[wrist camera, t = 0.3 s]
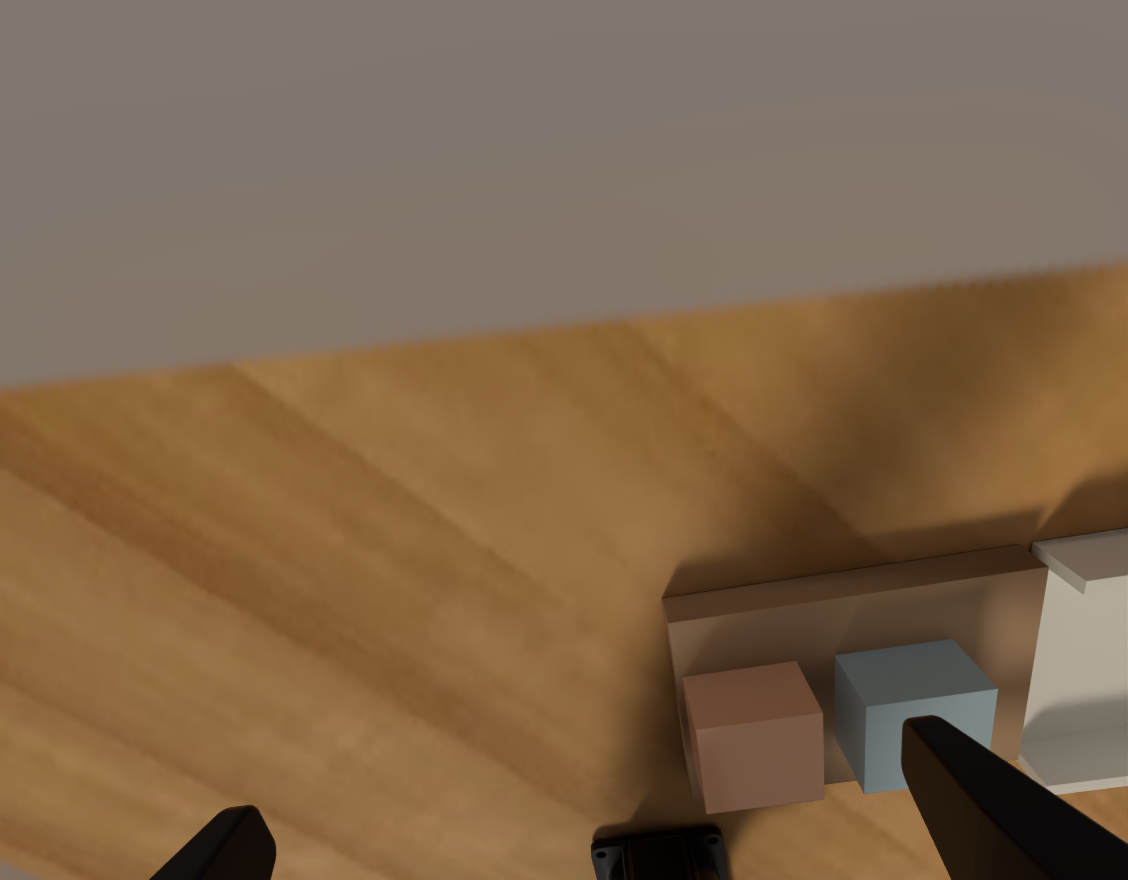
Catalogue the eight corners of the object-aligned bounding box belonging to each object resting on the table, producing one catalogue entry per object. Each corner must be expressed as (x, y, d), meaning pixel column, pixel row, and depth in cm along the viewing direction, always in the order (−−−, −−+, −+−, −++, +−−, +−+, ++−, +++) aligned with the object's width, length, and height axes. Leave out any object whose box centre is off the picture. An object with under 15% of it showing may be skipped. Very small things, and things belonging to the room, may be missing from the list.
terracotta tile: (799, 743, 24) (824, 799, 22) (692, 757, 25) (706, 814, 22) (796, 661, 23) (823, 712, 20) (682, 677, 23) (695, 730, 21)
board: (993, 730, 26) (1018, 759, 25) (686, 770, 27) (693, 801, 26) (1018, 544, 22) (1049, 566, 21) (661, 598, 23) (668, 623, 22)
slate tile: (944, 723, 24) (985, 778, 22) (835, 738, 24) (864, 794, 22) (952, 638, 22) (997, 688, 20) (834, 655, 23) (866, 707, 20)
